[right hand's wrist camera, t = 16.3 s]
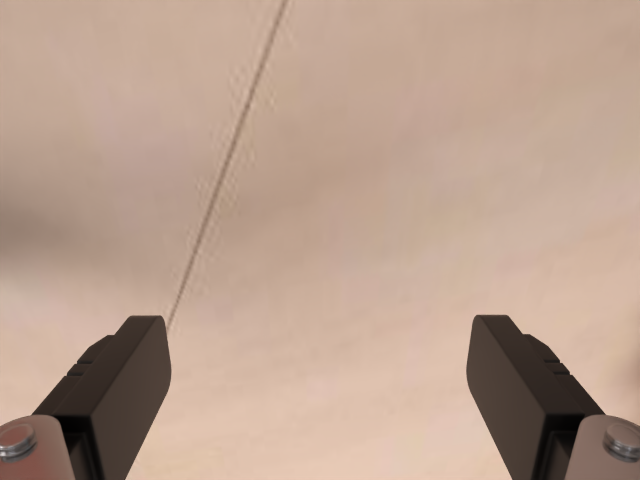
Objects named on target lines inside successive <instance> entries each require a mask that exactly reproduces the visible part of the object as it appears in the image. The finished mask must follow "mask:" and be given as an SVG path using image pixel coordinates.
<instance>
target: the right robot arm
mask: <svg viewBox="0 0 640 480" xmlns="http://www.w3.org/2000/svg"><path fill="white" fill-rule="evenodd" d="M466 372H467V381H468V386H469V389H470V392H471V394H472V396H473V398H474V400H475V402H476V404H477V406H478V408H479V411H480V413H481V415H482V417H483V419H484V421H485V423H486V425H487V427H488V429H489V431H490V434H491V436H492V438H493V440H494V442H495V444H496V446H497V448H498V450H499V452H500V455H501V457H502V459H503V461H504V463H505V465H506V467H507V469H508V471H509V473H510V475H511V478H512V480H640V426H638V425H636V424H634V423H632V422H630V421H627V420H625V419H622V418H619V417H614V416H609V415H606V414H605V413H604V412H603V411H602V409H601V408H600V407H599V406H598V405H597V404H596V402H595V401H594V400H593V399H592V398H591V396H590V395H589V394H588V393H587V392H586V391H585V389H584V388H583V387H582V386H581V385H580V383H579V382H578V381H577V380H576V379H575V378H574V376H573V375H570V372H569V370H568V369H567V368H566V367H565V366H564V365H563V363H560V360H559V359H558V357H557V356H556V355H555V354H554V353H553V352H552V350H551V349H550V348H549V347H548V346H547V345H545V344H544V343H542V342H541V341H539V340H538V339H536V338H535V337H533V336H532V335H530V334H522V333H521V331H520V330H519V329H518V327H517V326H516V325H515V324H514V322H513V321H512V320H511V319H510V317H509V316H507V315H476V316H475V317H474V320H473V324H472V331H471V338H470V345H469V352H468V359H467V369H466ZM170 381H171V362H170V355H169V348H168V341H167V334H166V327H165V322H164V319H163V317H162V316H130V317H129V318H128V319H127V320H126V321H125V322H124V324H123V325H122V326H121V327H120V329H119V330H118V331H117V332H116V334H115V335H107V336H106V337H104V338H102V339H101V340H99V341H98V342H96V343H95V344H93V345H92V346H90V347H89V348H88V349H87V350H86V351H85V353H84V354H83V355H82V356H81V357H80V358H79V360H78V361H77V364H74V365H73V367H72V368H71V369H70V370H69V371H68V373H67V376H64V377H63V378H62V380H61V381H60V382H59V383H58V384H57V385H56V387H55V388H54V389H53V390H52V391H51V392H50V394H49V395H48V396H47V397H46V398H45V399H44V401H43V402H42V403H41V404H40V405H39V407H38V408H37V409H36V410H35V411H34V412H33V414H32V415H31V416H26V417H21V418H18V419H15V420H13V421H10V422H8V423H6V424H4V425H2V426H0V480H125V479H126V477H127V475H128V473H129V471H130V469H131V466H132V464H133V462H134V460H135V458H136V456H137V454H138V452H139V450H140V448H141V446H142V444H143V442H144V440H145V438H146V435H147V433H148V431H149V429H150V427H151V425H152V423H153V421H154V419H155V417H156V415H157V413H158V411H159V409H160V406H161V404H162V402H163V400H164V398H165V396H166V394H167V392H168V389H169V386H170Z"/></svg>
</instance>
